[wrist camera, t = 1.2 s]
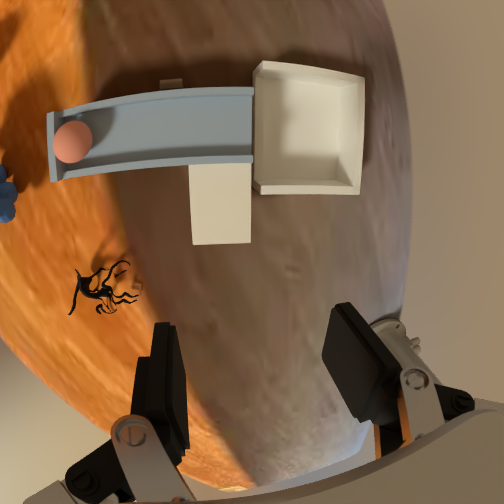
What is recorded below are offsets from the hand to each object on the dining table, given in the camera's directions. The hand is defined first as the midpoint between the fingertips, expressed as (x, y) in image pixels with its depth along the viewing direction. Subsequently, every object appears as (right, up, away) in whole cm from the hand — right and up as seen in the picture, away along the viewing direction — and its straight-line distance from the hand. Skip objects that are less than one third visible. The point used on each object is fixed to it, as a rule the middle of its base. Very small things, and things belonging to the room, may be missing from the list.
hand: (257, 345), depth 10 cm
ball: (-14, +12, +6) cm, 20 cm away
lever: (-9, +11, +11) cm, 18 cm away
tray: (+5, +16, +16) cm, 23 cm away
